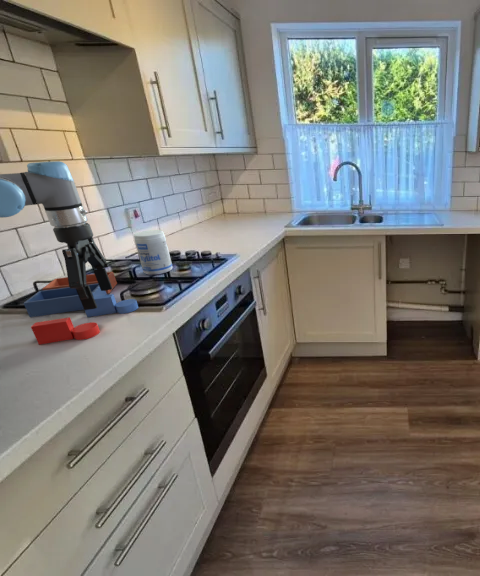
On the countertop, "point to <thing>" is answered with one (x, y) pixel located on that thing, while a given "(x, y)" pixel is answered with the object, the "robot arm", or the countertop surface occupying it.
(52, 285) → the red bin
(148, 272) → the supplement tub
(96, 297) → the blue spoon
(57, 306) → the blue bin
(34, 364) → the countertop surface
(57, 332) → the red spoon
